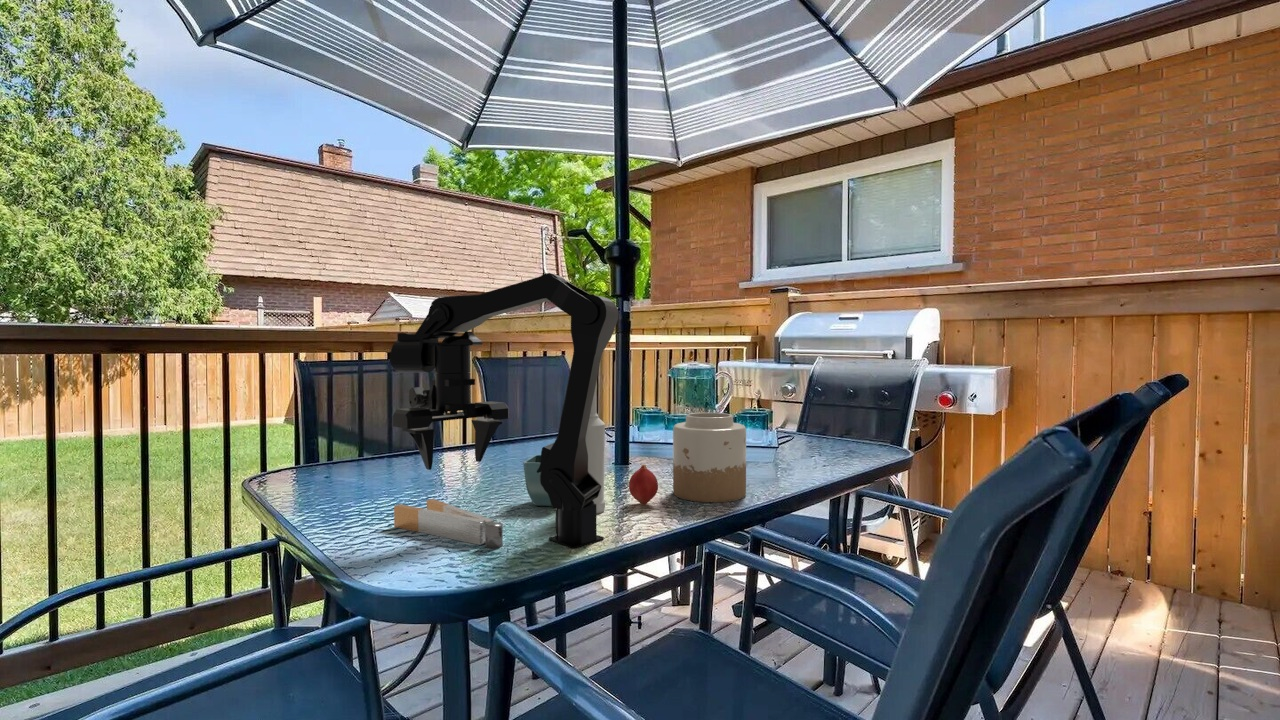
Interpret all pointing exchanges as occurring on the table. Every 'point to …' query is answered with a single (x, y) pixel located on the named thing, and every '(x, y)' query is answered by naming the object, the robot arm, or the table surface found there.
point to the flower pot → (535, 482)
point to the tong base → (491, 528)
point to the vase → (709, 458)
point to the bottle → (596, 451)
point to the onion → (643, 485)
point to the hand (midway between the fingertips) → (454, 465)
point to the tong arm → (440, 524)
